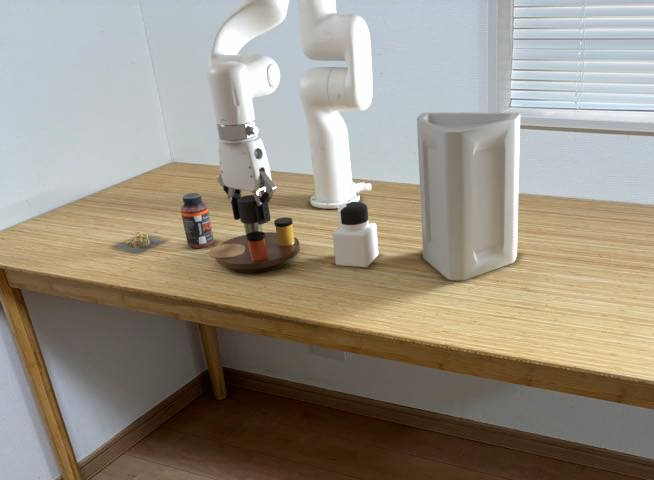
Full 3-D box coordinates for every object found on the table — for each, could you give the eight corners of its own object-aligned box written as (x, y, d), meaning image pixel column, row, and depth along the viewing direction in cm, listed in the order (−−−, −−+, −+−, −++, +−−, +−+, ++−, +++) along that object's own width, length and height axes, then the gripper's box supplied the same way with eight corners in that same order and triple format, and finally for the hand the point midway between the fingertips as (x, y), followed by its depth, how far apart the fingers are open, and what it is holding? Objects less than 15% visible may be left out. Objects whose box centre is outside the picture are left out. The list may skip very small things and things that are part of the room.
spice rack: (294, 232, 173) (287, 180, 167) (305, 261, 158) (297, 205, 152) (208, 244, 170) (197, 192, 164) (210, 275, 155) (199, 219, 149)
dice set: (140, 238, 181) (138, 230, 180) (155, 242, 179) (153, 234, 178) (123, 245, 178) (121, 237, 177) (137, 249, 175) (135, 241, 174)
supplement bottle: (211, 248, 173) (201, 199, 167) (185, 249, 173) (174, 200, 167) (217, 239, 178) (207, 190, 172) (191, 240, 178) (181, 192, 172)
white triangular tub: (408, 277, 152) (400, 131, 137) (428, 249, 164) (422, 112, 149) (504, 283, 147) (506, 132, 132) (517, 254, 159) (520, 112, 144)
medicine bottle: (379, 255, 163) (374, 199, 157) (367, 268, 158) (362, 211, 151) (348, 252, 165) (342, 197, 159) (335, 265, 160) (328, 209, 153)
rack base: (286, 245, 171) (285, 239, 171) (292, 267, 161) (291, 260, 160) (227, 254, 169) (226, 247, 169) (230, 276, 159) (228, 269, 158)
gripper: (283, 130, 149) (295, 220, 158) (220, 123, 157) (235, 209, 167) (256, 139, 144) (270, 232, 153) (192, 131, 152) (210, 219, 162)
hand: (252, 219), depth 160 cm, fingers open, 6 cm apart
